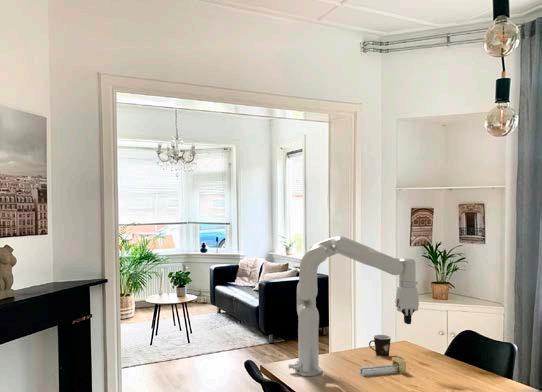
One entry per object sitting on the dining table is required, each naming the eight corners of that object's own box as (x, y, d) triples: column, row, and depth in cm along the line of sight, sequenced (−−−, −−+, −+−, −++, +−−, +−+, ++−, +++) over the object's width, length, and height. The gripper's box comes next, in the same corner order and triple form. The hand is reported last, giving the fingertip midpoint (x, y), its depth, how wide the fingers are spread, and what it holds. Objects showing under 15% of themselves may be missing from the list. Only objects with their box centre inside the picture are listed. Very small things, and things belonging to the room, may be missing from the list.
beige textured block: (400, 374, 192) (400, 362, 192) (392, 368, 199) (391, 357, 199) (406, 373, 193) (406, 361, 193) (397, 368, 200) (397, 356, 200)
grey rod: (361, 374, 191) (361, 367, 192) (359, 372, 193) (359, 366, 194) (402, 370, 196) (402, 364, 197) (400, 369, 198) (400, 362, 198)
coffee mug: (389, 354, 224) (389, 335, 225) (392, 359, 216) (392, 339, 217) (367, 353, 226) (367, 334, 226) (369, 358, 217) (369, 338, 218)
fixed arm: (363, 376, 189) (363, 370, 189) (362, 375, 191) (362, 369, 191) (402, 372, 194) (402, 366, 194) (401, 371, 196) (401, 365, 196)
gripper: (416, 282, 206) (416, 320, 205) (389, 283, 202) (389, 322, 201) (425, 285, 199) (426, 324, 198) (397, 286, 195) (397, 326, 194)
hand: (407, 323), depth 200 cm, fingers closed
